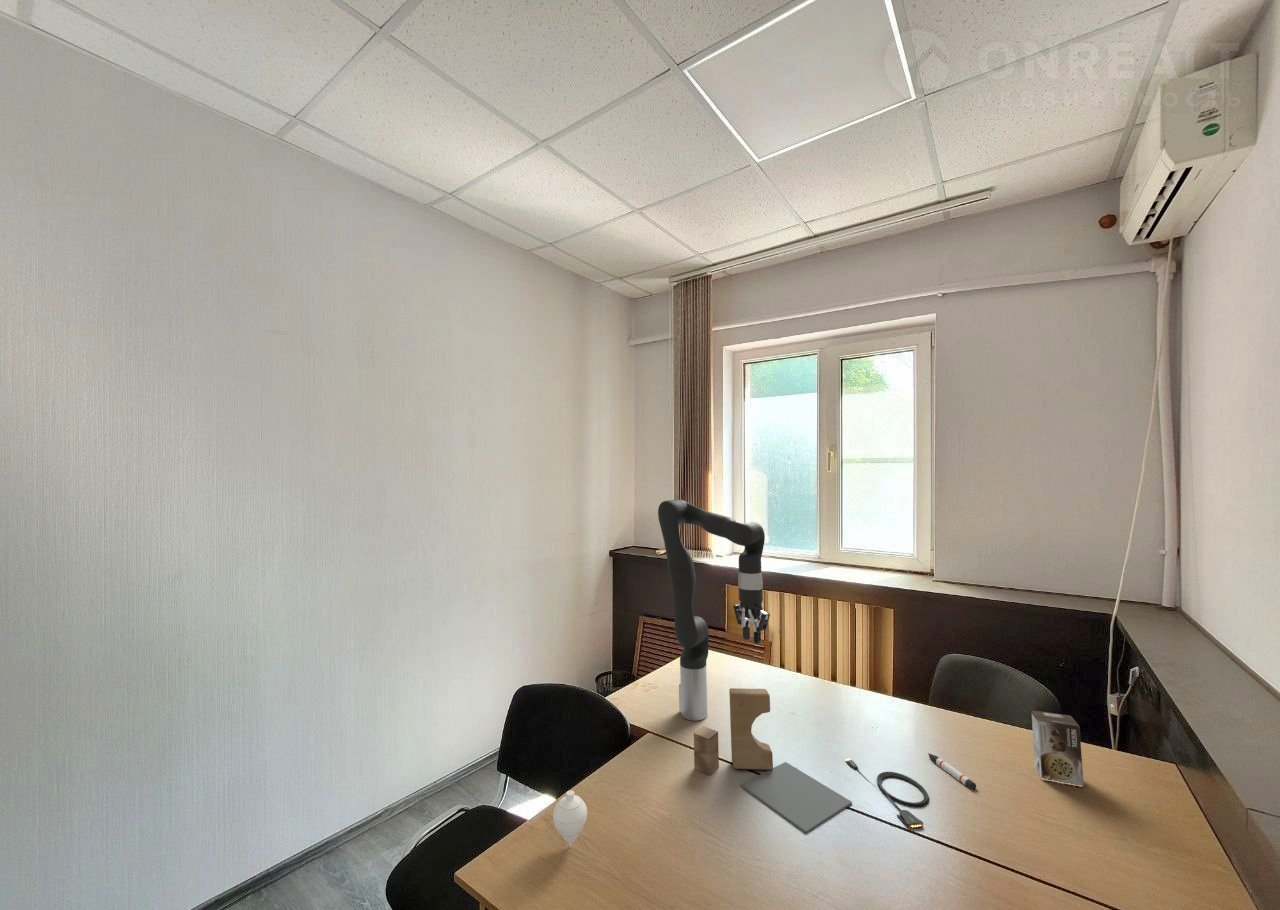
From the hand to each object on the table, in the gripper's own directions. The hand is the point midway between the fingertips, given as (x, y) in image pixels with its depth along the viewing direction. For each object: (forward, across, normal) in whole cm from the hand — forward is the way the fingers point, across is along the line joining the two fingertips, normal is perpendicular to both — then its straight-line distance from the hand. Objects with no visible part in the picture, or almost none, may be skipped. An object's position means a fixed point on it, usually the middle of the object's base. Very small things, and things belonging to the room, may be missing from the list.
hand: (751, 640), depth 153 cm
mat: (+31, +24, -10) cm, 40 cm away
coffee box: (+32, +60, +54) cm, 86 cm away
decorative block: (+31, +8, -10) cm, 34 cm away
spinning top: (+31, +6, -66) cm, 73 cm away
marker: (+32, +42, +33) cm, 62 cm away
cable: (+32, +37, +14) cm, 51 cm away
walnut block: (+31, +2, -21) cm, 38 cm away
